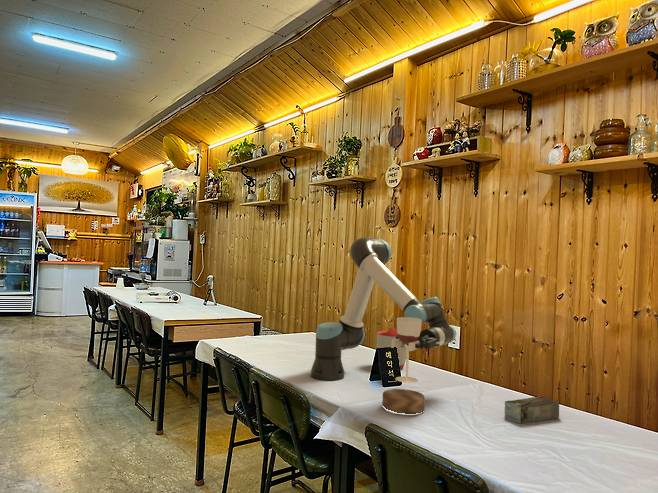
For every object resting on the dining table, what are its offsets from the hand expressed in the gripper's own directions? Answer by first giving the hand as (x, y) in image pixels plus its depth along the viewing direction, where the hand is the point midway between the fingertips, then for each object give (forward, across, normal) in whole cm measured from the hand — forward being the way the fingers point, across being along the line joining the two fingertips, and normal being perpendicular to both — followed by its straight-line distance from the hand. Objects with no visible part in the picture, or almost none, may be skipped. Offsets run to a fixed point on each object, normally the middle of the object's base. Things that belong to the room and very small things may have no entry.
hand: (400, 345), depth 173 cm
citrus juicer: (-55, +37, -24) cm, 71 cm away
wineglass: (-5, 0, -13) cm, 14 cm away
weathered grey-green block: (-29, -37, -24) cm, 53 cm away
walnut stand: (-4, 0, -24) cm, 24 cm away
